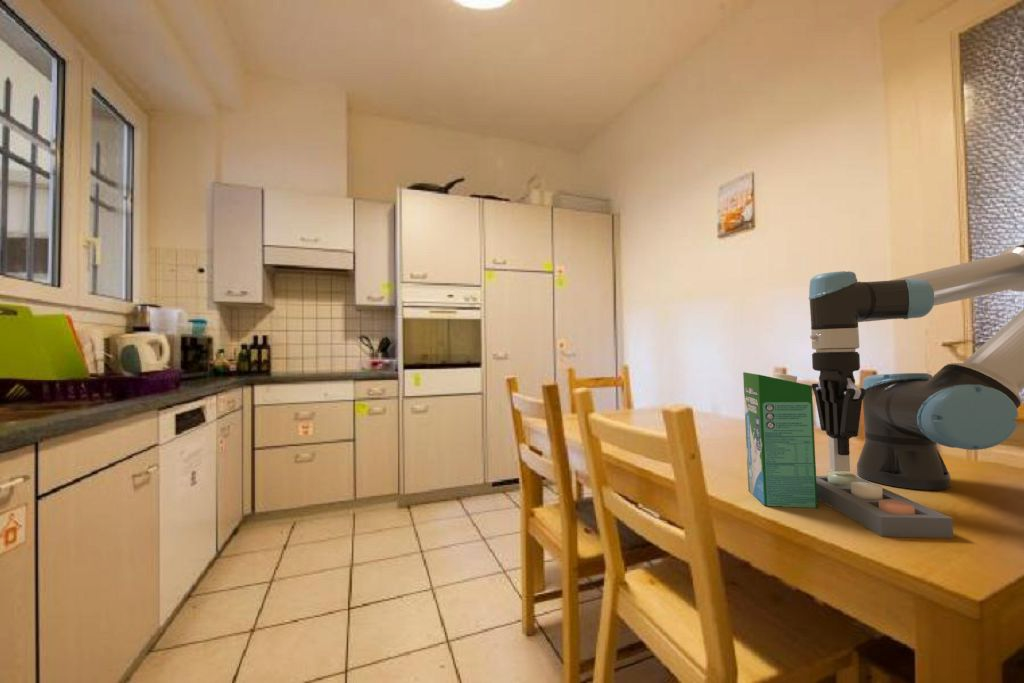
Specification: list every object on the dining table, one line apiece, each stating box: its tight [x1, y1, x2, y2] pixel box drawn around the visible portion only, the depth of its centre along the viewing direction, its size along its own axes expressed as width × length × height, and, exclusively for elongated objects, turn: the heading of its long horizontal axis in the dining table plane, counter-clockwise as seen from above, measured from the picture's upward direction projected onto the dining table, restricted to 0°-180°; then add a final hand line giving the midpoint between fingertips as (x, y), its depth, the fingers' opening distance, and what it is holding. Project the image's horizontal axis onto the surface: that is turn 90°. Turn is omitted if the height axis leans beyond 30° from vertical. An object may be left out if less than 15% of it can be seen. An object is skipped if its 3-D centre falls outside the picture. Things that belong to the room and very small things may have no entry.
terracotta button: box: [879, 500, 915, 515], centre depth 70 cm, size 4×4×3 cm
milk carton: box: [742, 371, 819, 509], centre depth 84 cm, size 9×9×25 cm
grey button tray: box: [816, 475, 954, 539], centre depth 77 cm, size 22×10×3 cm, turn 173°
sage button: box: [827, 470, 856, 486], centre depth 84 cm, size 4×4×3 cm
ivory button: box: [851, 482, 883, 499], centre depth 77 cm, size 4×4×3 cm
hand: (840, 470), depth 84 cm, fingers closed
